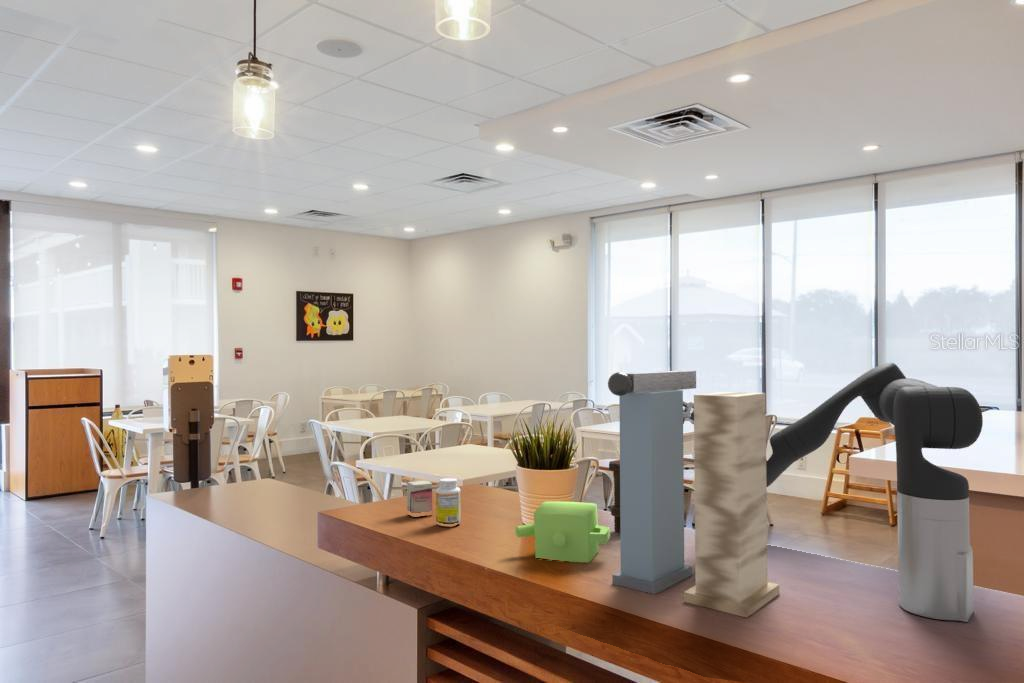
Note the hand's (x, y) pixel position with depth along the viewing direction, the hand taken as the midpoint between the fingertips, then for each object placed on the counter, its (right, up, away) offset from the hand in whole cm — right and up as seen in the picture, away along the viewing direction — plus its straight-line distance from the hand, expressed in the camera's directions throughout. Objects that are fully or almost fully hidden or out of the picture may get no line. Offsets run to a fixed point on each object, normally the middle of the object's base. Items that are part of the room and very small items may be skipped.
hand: (690, 396), depth 131 cm
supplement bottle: (-48, -31, +25) cm, 63 cm away
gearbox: (-24, -31, +1) cm, 39 cm away
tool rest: (+1, -30, -22) cm, 37 cm away
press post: (-10, -30, -13) cm, 34 cm away
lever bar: (-9, +2, -12) cm, 15 cm away
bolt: (-10, -31, +19) cm, 37 cm away
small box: (-56, -31, +35) cm, 73 cm away
